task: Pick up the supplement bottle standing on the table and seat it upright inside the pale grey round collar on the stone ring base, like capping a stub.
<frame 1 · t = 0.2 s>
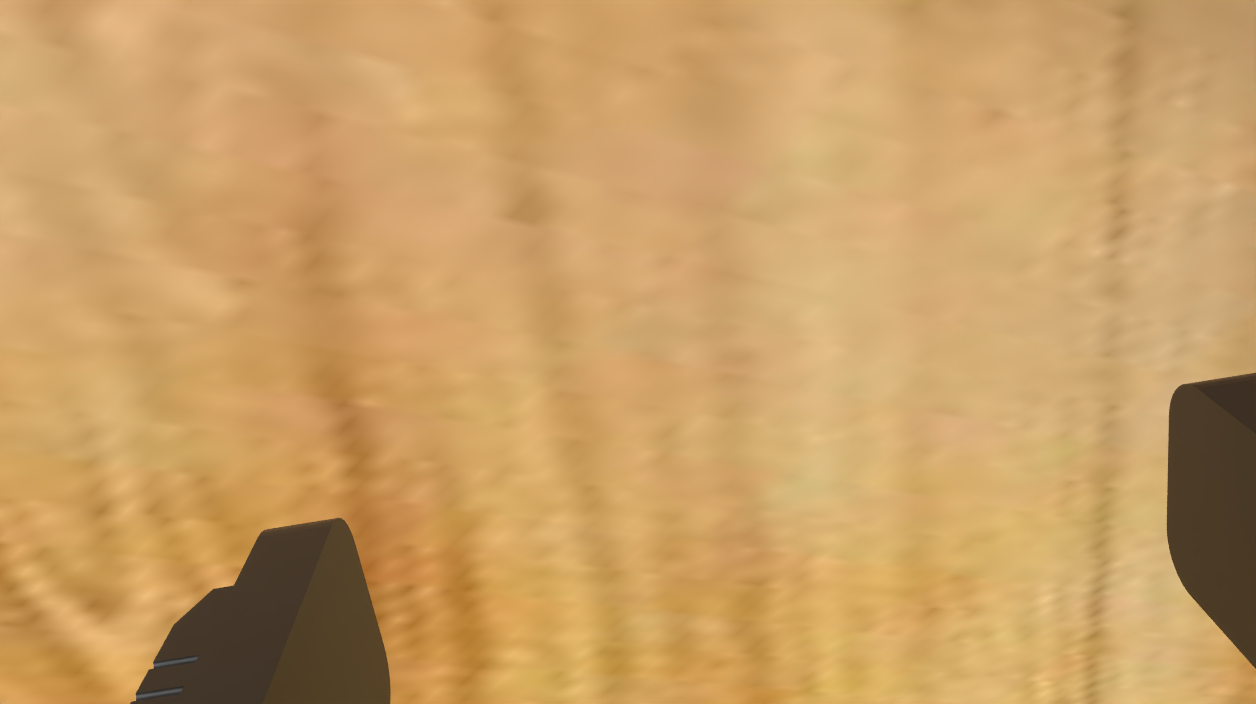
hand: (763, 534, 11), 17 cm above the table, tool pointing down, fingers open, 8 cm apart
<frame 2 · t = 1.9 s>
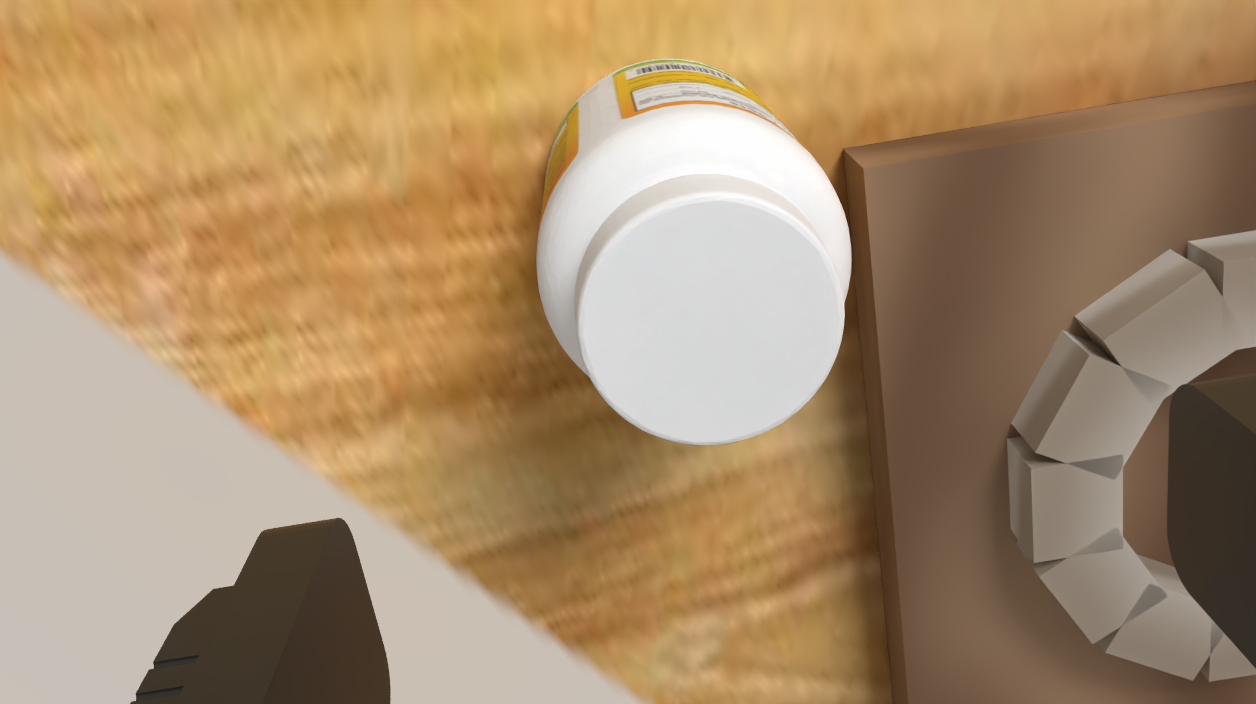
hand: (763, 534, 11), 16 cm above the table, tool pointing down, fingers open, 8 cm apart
supplement bottle: (665, 175, 26), on the table
stone ring base: (1191, 412, 28), on the table
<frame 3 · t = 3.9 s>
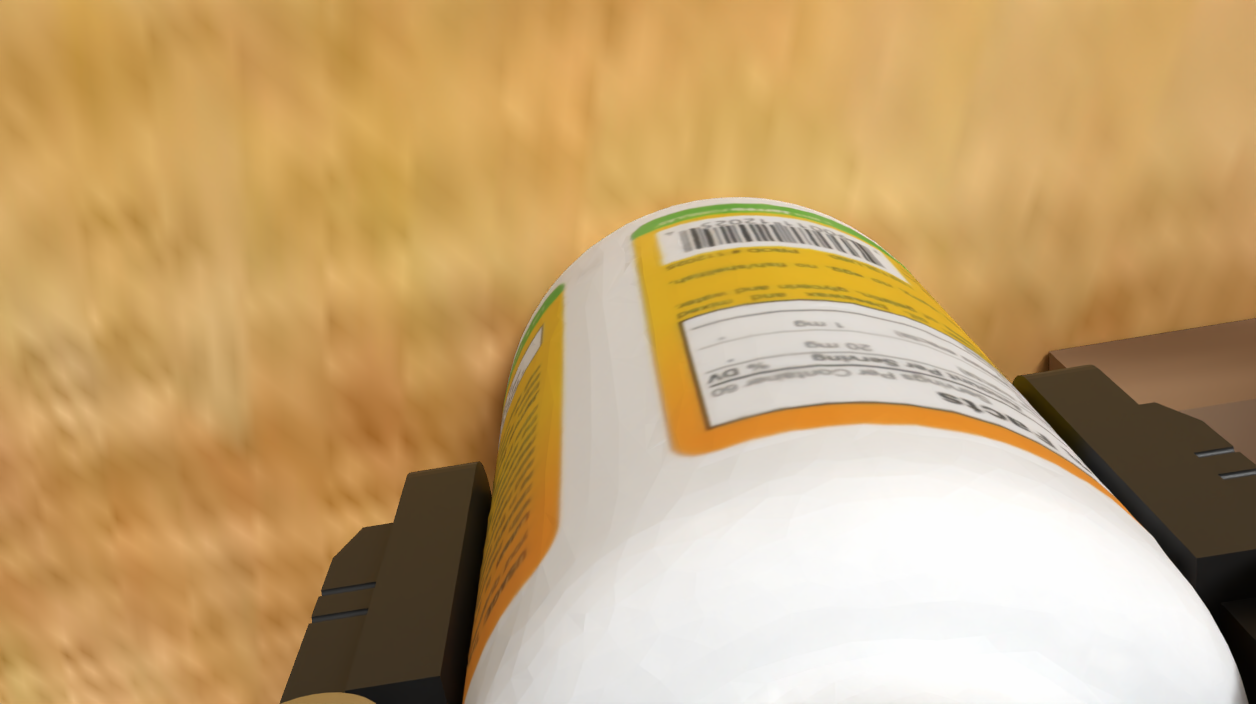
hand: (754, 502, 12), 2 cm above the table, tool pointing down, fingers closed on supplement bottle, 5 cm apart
supplement bottle: (724, 396, 14), on the table, touching gripper
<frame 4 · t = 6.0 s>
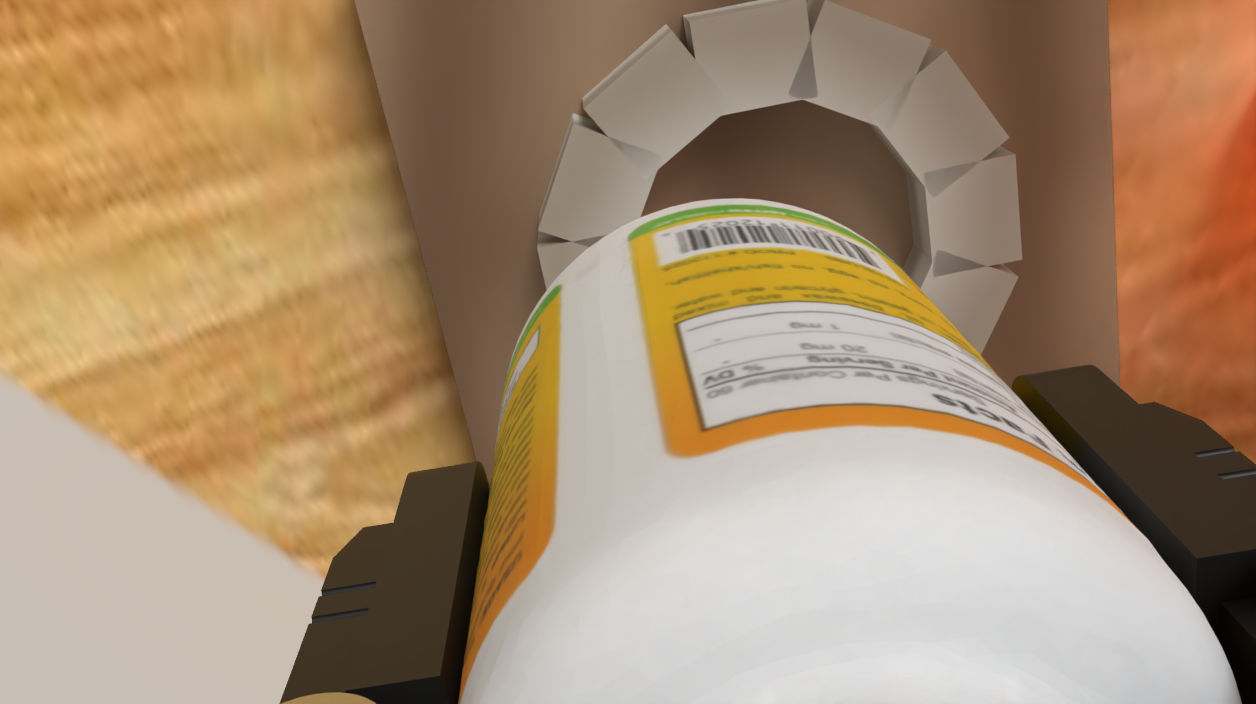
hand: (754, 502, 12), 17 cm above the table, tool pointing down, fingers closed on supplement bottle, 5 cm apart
supplement bottle: (721, 397, 14), point 15 cm above the table, touching gripper
stone ring base: (758, 214, 28), on the table
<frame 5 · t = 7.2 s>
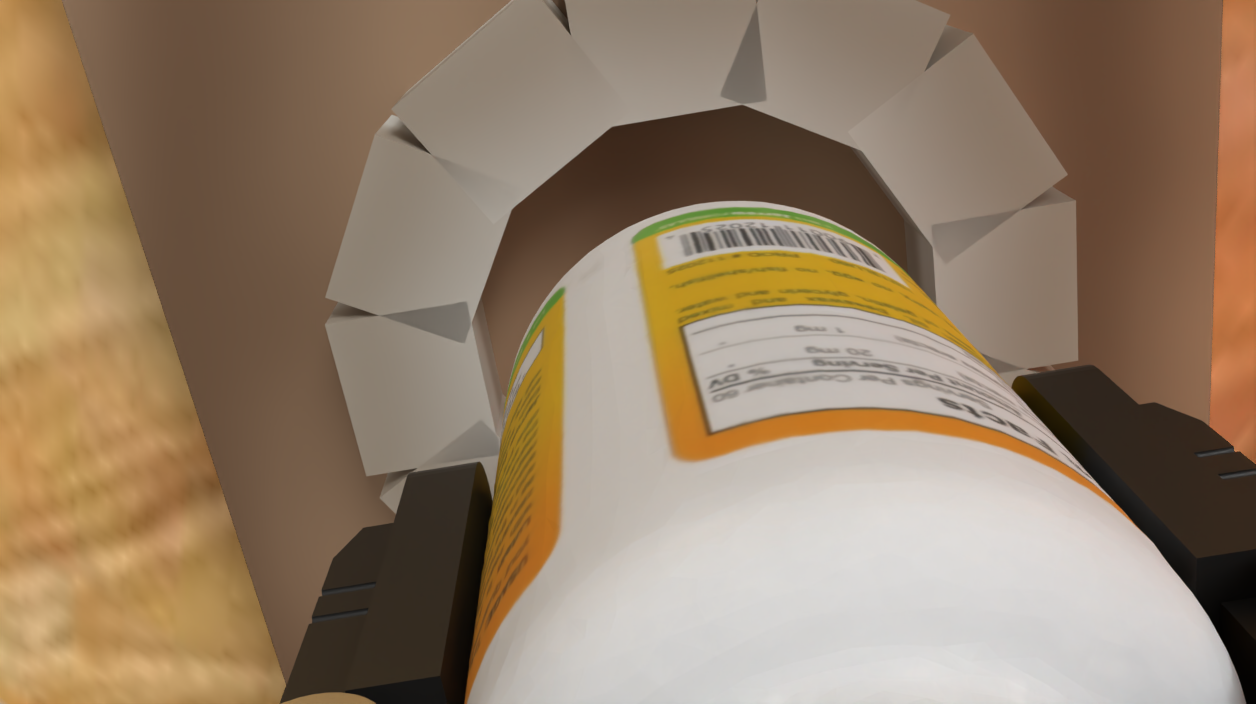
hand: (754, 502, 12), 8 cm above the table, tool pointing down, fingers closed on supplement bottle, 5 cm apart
supplement bottle: (724, 399, 14), point 6 cm above the table, touching gripper
stone ring base: (687, 269, 20), on the table
when the fingers open (5 cm above the table, at t = 8.2 s): supplement bottle stays where it is, resting on stone ring base.
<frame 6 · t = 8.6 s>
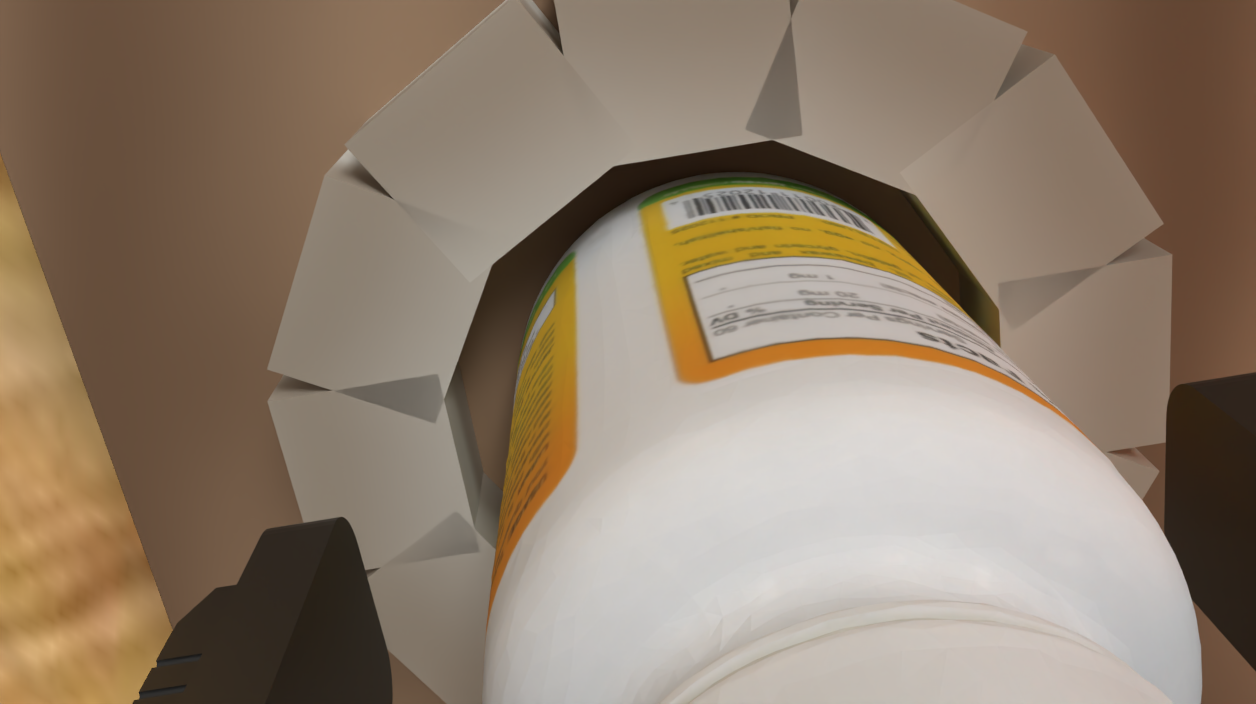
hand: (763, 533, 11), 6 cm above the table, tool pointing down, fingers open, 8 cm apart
supplement bottle: (724, 362, 15), point 2 cm above the table, touching stone ring base
stone ring base: (699, 321, 17), on the table
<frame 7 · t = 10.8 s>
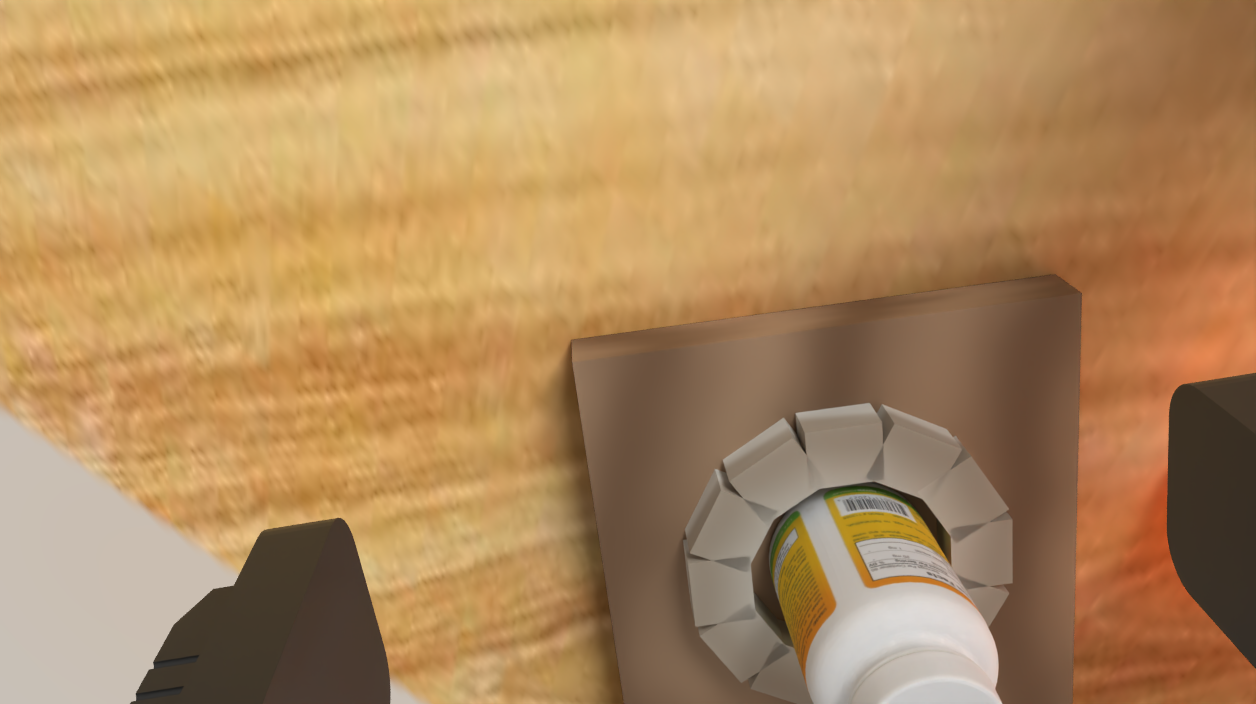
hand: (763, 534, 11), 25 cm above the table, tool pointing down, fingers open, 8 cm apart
supplement bottle: (844, 544, 39), point 2 cm above the table, touching stone ring base
stone ring base: (828, 520, 40), on the table
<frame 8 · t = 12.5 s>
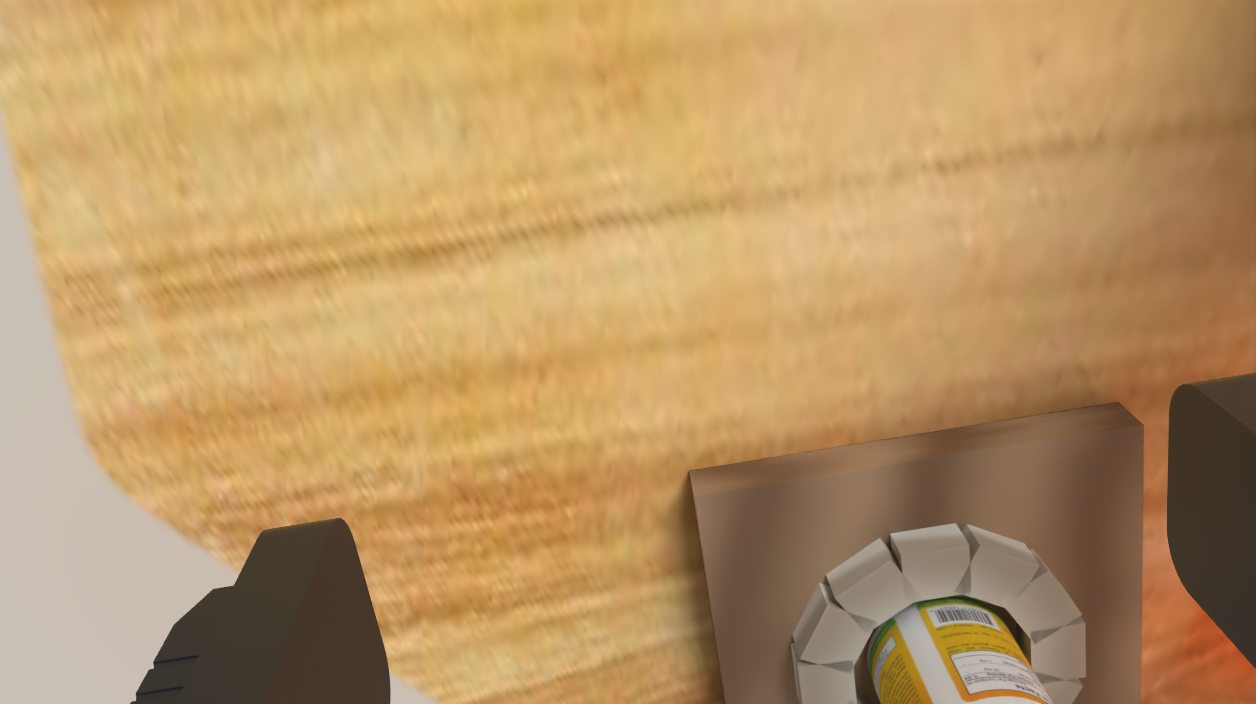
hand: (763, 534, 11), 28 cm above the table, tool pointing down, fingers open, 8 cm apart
supplement bottle: (933, 642, 44), point 2 cm above the table, touching stone ring base
stone ring base: (916, 617, 45), on the table
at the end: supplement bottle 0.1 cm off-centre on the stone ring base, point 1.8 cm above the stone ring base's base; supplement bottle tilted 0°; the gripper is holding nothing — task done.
